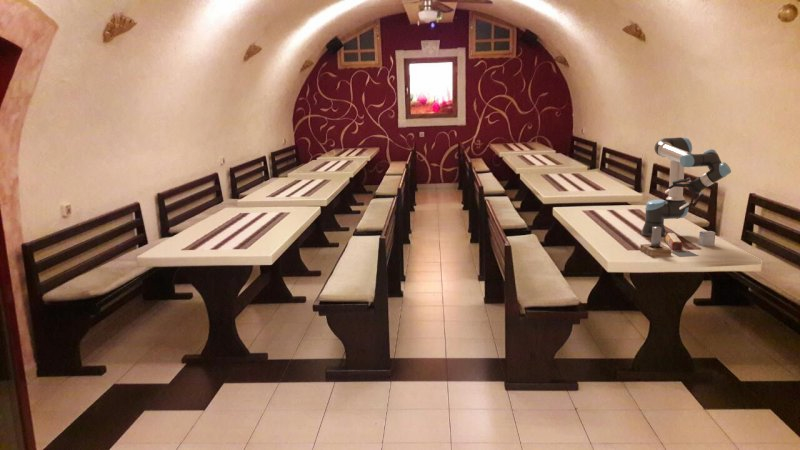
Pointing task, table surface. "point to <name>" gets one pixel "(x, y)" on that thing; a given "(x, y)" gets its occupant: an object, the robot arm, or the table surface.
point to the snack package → (673, 241)
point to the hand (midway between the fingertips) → (672, 200)
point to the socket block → (655, 250)
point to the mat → (683, 253)
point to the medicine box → (707, 238)
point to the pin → (656, 237)
